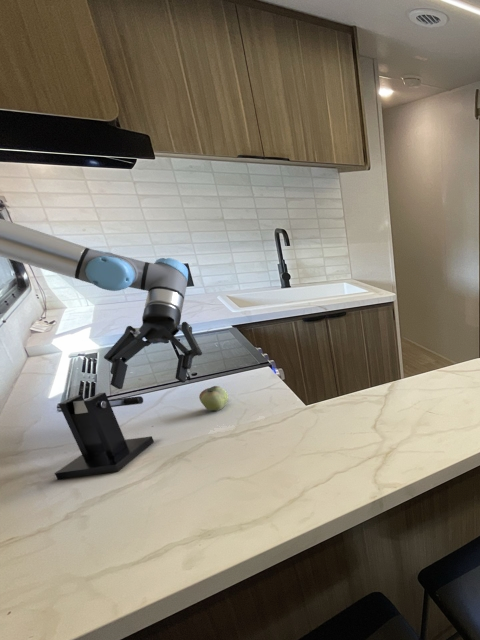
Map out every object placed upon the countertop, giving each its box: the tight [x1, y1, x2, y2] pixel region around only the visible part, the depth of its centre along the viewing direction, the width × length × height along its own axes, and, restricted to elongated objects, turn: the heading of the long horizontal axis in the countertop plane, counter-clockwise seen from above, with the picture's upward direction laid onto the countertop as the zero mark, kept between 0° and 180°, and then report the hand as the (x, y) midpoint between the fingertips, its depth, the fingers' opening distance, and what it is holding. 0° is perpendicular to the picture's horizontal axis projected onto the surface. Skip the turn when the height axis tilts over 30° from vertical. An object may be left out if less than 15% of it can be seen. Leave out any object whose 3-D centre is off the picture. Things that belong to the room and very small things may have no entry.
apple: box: [198, 385, 229, 412], centre depth 105 cm, size 6×8×6 cm
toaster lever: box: [73, 395, 144, 414], centre depth 83 cm, size 12×6×2 cm, turn 11°
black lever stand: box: [54, 392, 155, 481], centre depth 80 cm, size 12×10×14 cm
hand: (148, 383), depth 97 cm, fingers open, 13 cm apart
